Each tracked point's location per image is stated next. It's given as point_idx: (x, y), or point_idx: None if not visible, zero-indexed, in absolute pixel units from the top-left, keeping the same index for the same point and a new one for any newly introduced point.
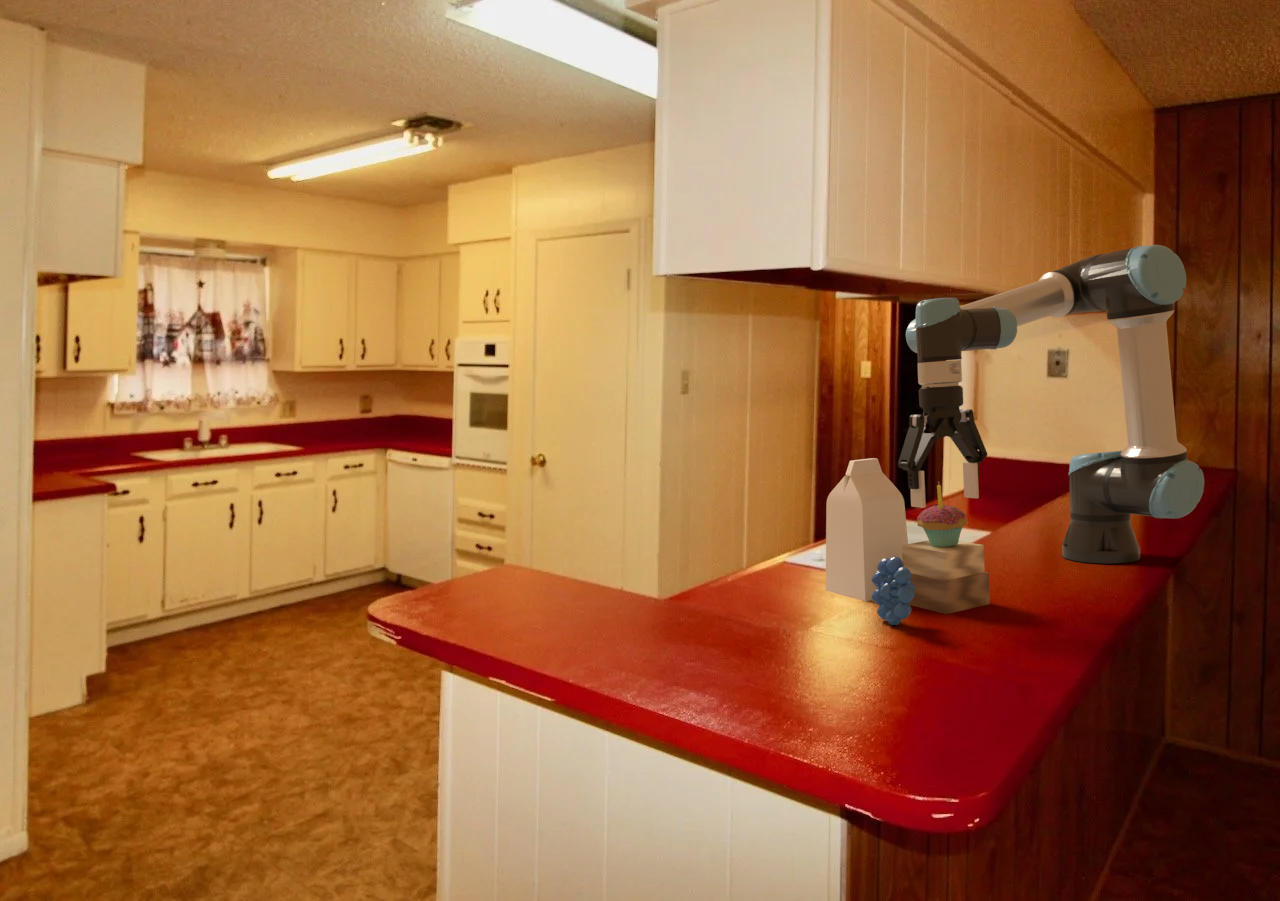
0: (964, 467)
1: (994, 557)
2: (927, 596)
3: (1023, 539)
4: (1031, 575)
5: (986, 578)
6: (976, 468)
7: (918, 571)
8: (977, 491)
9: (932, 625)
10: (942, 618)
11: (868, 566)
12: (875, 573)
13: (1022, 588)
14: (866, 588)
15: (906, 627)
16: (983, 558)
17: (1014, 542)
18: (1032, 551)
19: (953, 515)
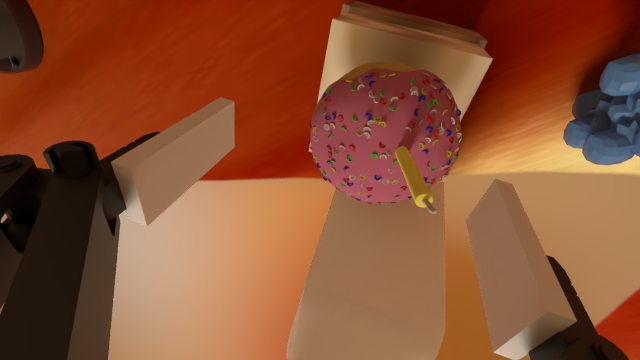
0: (162, 204)
1: (117, 140)
2: None
3: (31, 149)
4: (148, 46)
5: (354, 5)
6: (142, 150)
7: None
8: (212, 106)
9: (591, 4)
10: (516, 18)
11: (434, 215)
12: (625, 160)
13: (223, 12)
14: (440, 193)
15: (628, 42)
16: (344, 16)
17: None
18: (57, 114)
19: (417, 93)
